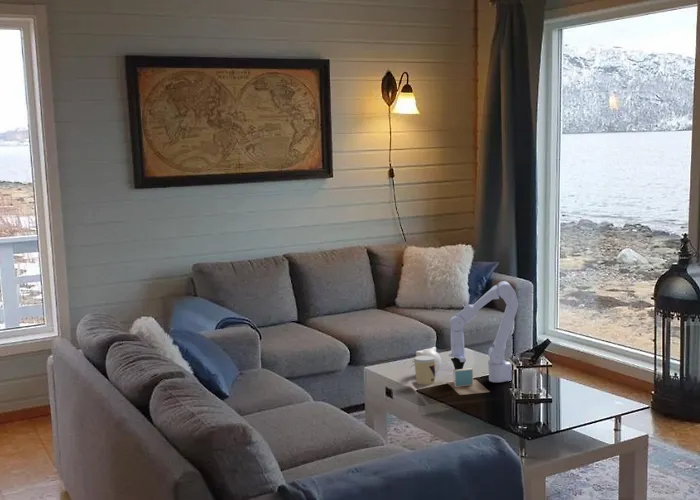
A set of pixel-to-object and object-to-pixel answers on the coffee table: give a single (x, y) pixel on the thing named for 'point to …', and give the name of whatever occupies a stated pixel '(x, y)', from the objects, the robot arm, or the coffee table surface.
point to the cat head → (431, 353)
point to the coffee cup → (425, 369)
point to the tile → (463, 377)
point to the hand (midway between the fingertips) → (458, 374)
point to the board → (469, 388)
